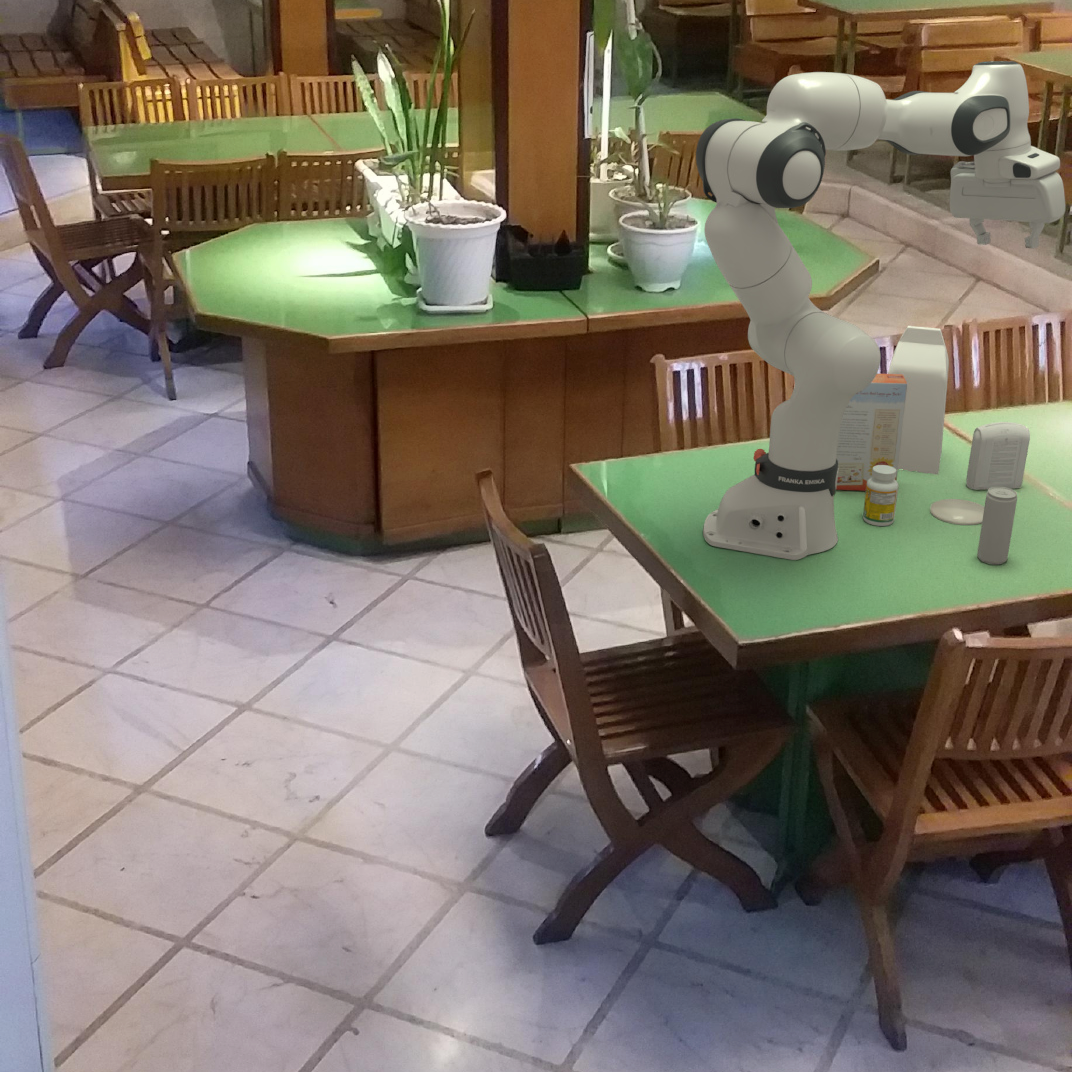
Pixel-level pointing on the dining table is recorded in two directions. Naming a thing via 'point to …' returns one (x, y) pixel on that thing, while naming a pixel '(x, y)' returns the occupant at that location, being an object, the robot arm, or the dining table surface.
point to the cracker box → (871, 431)
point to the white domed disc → (957, 511)
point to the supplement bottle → (881, 496)
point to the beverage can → (997, 525)
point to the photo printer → (998, 456)
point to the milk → (922, 397)
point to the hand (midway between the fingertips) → (1007, 245)
